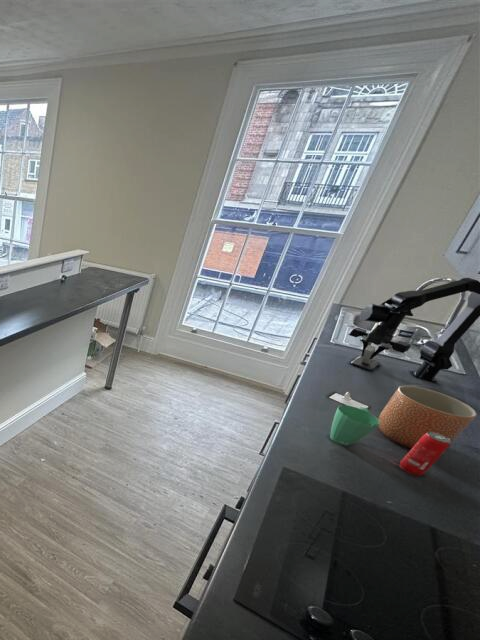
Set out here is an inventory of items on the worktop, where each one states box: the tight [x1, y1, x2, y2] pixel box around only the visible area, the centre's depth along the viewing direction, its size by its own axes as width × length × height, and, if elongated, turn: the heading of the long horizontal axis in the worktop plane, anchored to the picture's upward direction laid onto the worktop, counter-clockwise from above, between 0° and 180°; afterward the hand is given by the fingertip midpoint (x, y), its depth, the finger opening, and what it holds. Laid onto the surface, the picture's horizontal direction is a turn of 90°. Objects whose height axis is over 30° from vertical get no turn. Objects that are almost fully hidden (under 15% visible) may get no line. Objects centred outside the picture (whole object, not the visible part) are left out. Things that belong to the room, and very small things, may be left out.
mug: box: [329, 404, 380, 447], centre depth 122 cm, size 15×10×10 cm
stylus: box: [362, 344, 377, 365], centre depth 170 cm, size 2×2×13 cm
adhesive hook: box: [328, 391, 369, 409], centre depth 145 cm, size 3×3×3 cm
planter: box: [377, 385, 478, 450], centre depth 123 cm, size 17×17×15 cm
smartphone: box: [350, 355, 381, 372], centre depth 176 cm, size 7×1×15 cm
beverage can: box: [399, 432, 452, 476], centre depth 111 cm, size 5×5×12 cm
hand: (366, 357), depth 170 cm, fingers closed on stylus, 2 cm apart
